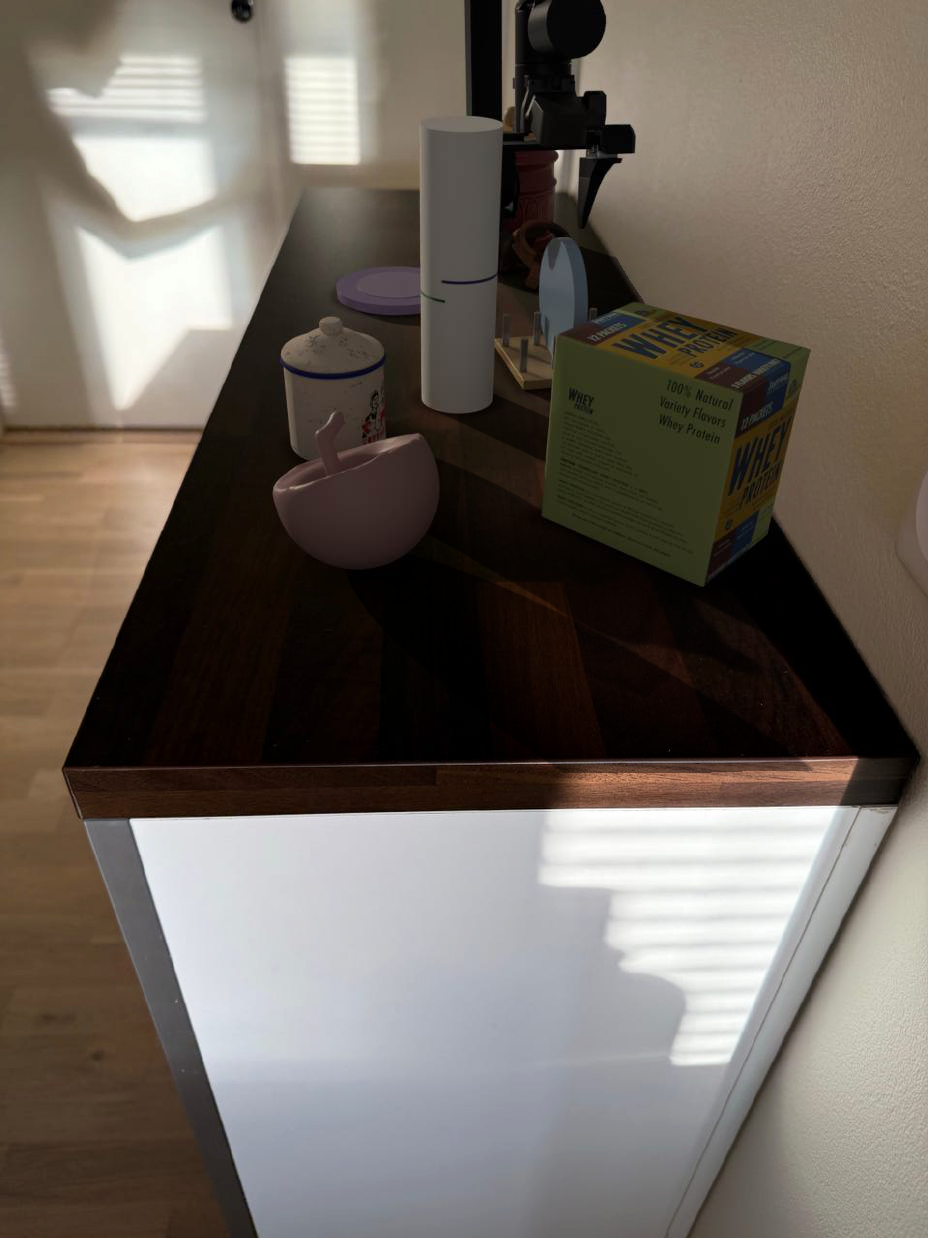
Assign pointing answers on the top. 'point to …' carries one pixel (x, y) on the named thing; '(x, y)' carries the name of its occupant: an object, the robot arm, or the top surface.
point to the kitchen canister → (532, 185)
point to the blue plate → (562, 289)
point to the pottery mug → (526, 247)
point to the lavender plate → (382, 290)
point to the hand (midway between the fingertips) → (540, 230)
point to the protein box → (669, 436)
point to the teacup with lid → (334, 387)
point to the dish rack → (529, 354)
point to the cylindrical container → (459, 259)
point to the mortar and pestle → (360, 499)
